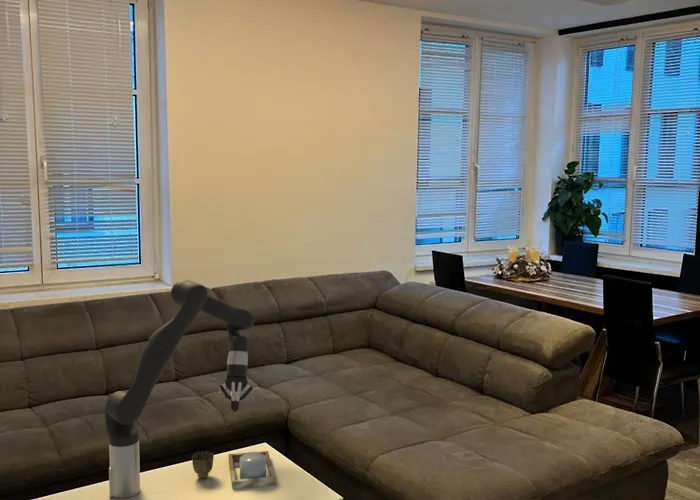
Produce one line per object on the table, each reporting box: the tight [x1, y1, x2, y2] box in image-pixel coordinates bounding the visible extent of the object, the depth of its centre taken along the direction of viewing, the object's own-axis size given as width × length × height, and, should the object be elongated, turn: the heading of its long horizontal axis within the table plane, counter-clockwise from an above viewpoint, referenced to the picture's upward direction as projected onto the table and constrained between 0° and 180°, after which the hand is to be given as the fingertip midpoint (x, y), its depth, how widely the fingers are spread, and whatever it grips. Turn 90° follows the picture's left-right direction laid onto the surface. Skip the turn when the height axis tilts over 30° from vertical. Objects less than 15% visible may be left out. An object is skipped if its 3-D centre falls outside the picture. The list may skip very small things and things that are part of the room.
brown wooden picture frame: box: [228, 450, 277, 490], centre depth 237 cm, size 14×23×2 cm, turn 13°
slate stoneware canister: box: [239, 452, 267, 479], centre depth 231 cm, size 9×9×8 cm
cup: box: [191, 450, 215, 480], centre depth 232 cm, size 8×7×8 cm
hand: (234, 411), depth 248 cm, fingers closed
